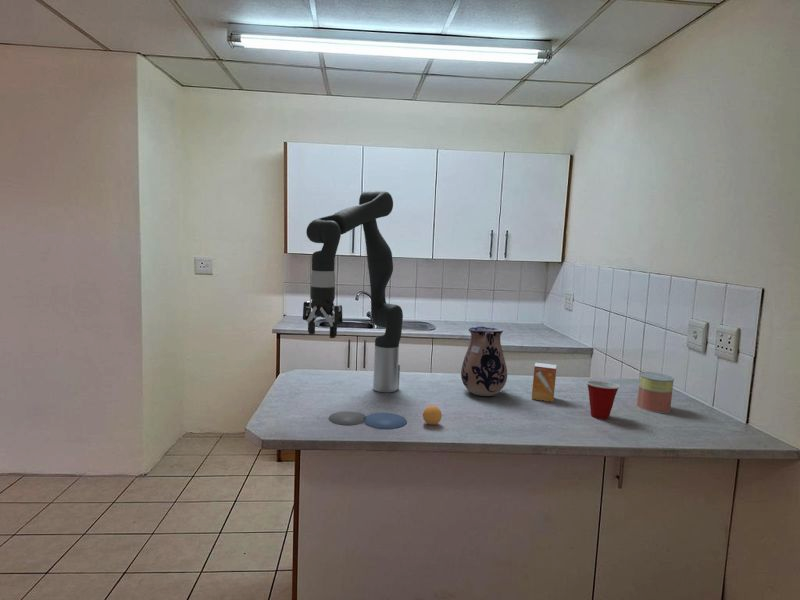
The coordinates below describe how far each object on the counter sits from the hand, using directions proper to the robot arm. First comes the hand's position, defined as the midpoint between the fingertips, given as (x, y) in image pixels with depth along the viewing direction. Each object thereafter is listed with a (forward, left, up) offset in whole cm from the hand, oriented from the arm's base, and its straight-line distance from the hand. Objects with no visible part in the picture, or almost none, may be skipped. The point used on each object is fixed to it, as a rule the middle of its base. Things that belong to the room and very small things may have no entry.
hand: (322, 335), depth 163 cm
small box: (-77, +37, -27) cm, 90 cm away
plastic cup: (-75, +60, -27) cm, 100 cm away
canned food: (-101, +69, -27) cm, 125 cm away
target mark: (-14, +16, -27) cm, 34 cm away
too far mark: (-6, +7, -27) cm, 28 cm away
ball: (-23, +28, -24) cm, 43 cm away
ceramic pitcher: (-65, +17, -27) cm, 72 cm away
